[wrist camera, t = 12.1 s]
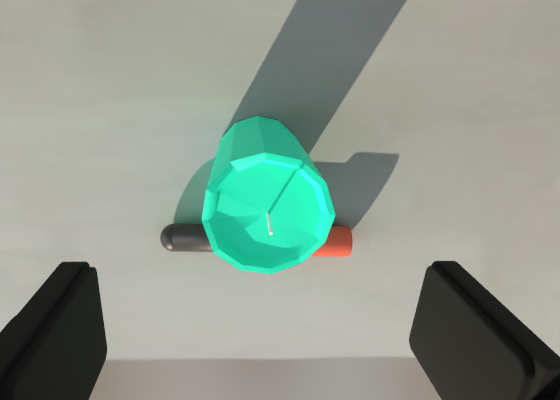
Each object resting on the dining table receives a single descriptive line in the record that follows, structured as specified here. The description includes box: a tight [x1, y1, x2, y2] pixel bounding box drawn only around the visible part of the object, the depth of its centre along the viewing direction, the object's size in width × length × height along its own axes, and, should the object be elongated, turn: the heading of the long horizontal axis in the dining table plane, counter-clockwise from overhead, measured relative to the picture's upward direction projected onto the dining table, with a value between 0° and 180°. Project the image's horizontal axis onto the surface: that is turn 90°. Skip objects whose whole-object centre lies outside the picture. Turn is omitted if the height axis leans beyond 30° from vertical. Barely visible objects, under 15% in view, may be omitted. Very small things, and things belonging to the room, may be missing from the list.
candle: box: [202, 116, 335, 274], centre depth 20 cm, size 6×6×12 cm
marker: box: [160, 224, 352, 256], centre depth 27 cm, size 14×2×2 cm, turn 86°
